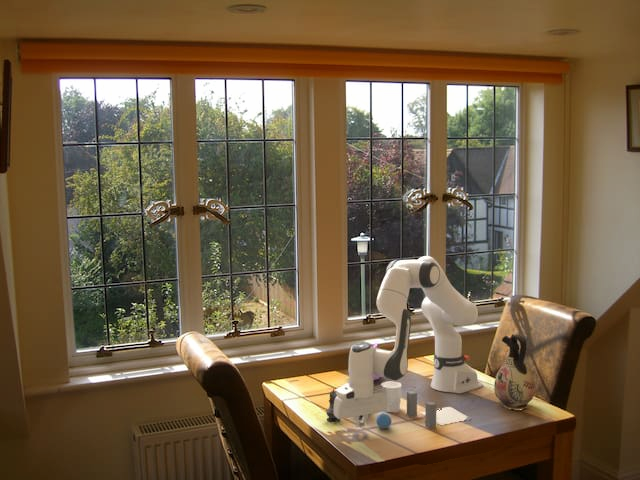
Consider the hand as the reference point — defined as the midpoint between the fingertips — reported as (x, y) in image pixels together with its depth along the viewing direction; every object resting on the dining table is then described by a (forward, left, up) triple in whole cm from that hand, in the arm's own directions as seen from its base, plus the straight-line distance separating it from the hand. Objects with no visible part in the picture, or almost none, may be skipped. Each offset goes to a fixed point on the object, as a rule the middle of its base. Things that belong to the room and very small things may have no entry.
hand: (360, 426), depth 248 cm
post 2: (-26, +6, -2) cm, 26 cm away
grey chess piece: (+3, -15, -3) cm, 16 cm away
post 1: (-26, -6, -2) cm, 26 cm away
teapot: (-31, -51, -3) cm, 59 cm away
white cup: (-22, -15, -3) cm, 26 cm away
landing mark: (-37, 0, -2) cm, 37 cm away
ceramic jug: (-67, +4, -3) cm, 67 cm away
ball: (-10, 0, 0) cm, 10 cm away
